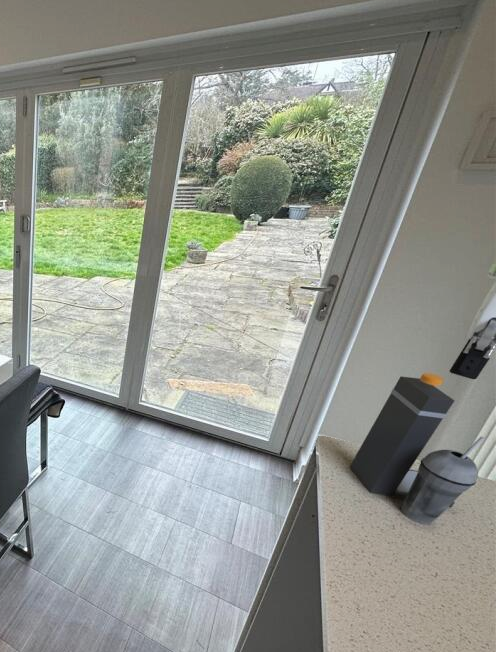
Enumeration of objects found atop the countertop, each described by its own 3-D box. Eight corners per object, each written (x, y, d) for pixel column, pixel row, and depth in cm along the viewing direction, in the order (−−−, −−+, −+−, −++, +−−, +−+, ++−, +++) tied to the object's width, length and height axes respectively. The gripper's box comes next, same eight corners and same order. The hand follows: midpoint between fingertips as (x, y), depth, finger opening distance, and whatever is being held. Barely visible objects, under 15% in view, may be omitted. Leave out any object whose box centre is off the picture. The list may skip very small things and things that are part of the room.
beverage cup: (387, 495, 85) (438, 417, 76) (434, 510, 82) (493, 430, 73) (396, 519, 80) (452, 438, 71) (447, 536, 76) (513, 454, 67)
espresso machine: (420, 476, 90) (482, 384, 80) (451, 507, 83) (525, 410, 72) (347, 465, 93) (398, 374, 82) (371, 494, 85) (430, 398, 75)
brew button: (433, 379, 78) (436, 374, 78) (444, 386, 76) (447, 381, 75) (416, 377, 79) (419, 372, 78) (426, 384, 77) (429, 379, 76)
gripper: (564, 288, 57) (492, 392, 64) (567, 269, 66) (503, 362, 74) (484, 275, 62) (427, 373, 70) (497, 259, 71) (445, 347, 79)
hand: (466, 367), depth 72 cm, fingers open, 9 cm apart
